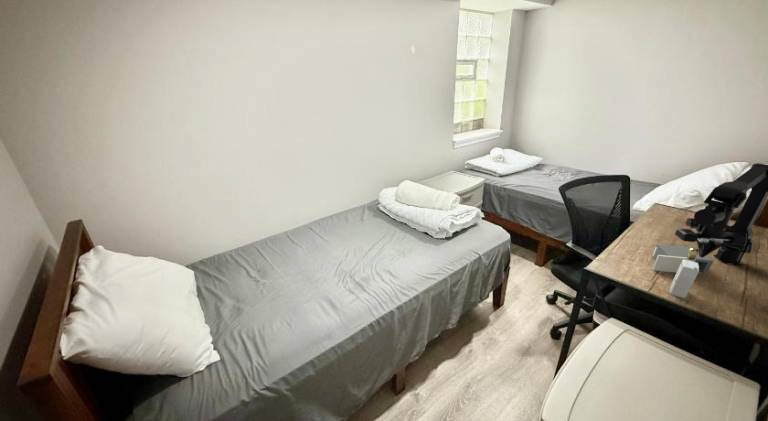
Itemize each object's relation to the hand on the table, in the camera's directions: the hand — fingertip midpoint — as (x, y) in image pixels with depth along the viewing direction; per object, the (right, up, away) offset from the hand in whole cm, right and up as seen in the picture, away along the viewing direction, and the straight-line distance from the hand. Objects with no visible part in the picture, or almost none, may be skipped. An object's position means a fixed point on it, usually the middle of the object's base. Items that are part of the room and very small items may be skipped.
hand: (700, 256), depth 118 cm
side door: (-7, -7, +5) cm, 11 cm away
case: (0, -5, +9) cm, 10 cm away
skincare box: (-15, -12, -6) cm, 20 cm away
